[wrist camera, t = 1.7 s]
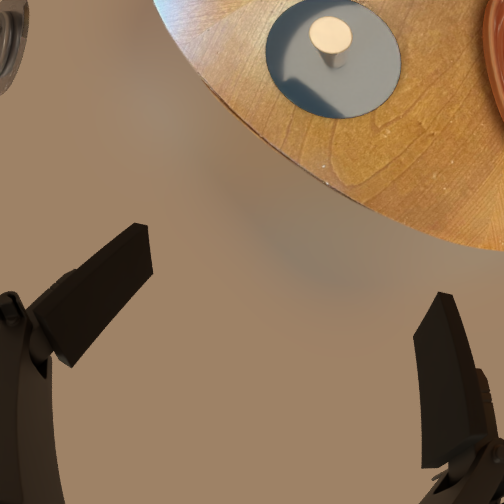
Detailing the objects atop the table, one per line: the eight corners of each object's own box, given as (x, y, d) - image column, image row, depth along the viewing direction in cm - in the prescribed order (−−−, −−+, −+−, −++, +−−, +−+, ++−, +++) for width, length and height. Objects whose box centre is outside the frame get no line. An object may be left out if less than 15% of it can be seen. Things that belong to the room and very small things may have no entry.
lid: (243, 67, 24) (195, 58, 16) (316, -21, 17) (302, -69, 9) (345, 143, 25) (348, 169, 17) (423, 57, 18) (464, 42, 10)
